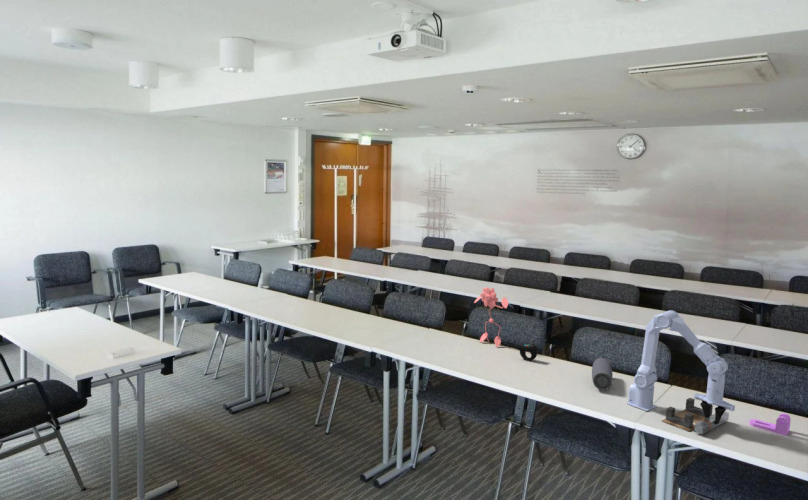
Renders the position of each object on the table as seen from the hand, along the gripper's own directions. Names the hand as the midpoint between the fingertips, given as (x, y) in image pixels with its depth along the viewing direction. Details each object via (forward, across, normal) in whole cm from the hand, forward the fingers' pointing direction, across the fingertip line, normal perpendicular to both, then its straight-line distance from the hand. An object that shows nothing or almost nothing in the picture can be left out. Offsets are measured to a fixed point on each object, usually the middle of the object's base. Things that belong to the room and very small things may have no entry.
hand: (712, 422), depth 216 cm
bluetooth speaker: (+3, -53, +5) cm, 53 cm away
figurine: (+3, -127, +2) cm, 127 cm away
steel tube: (+2, 0, 0) cm, 2 cm away
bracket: (+3, +13, +19) cm, 23 cm away
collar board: (+2, -9, 0) cm, 9 cm away
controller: (+3, -97, +2) cm, 97 cm away
